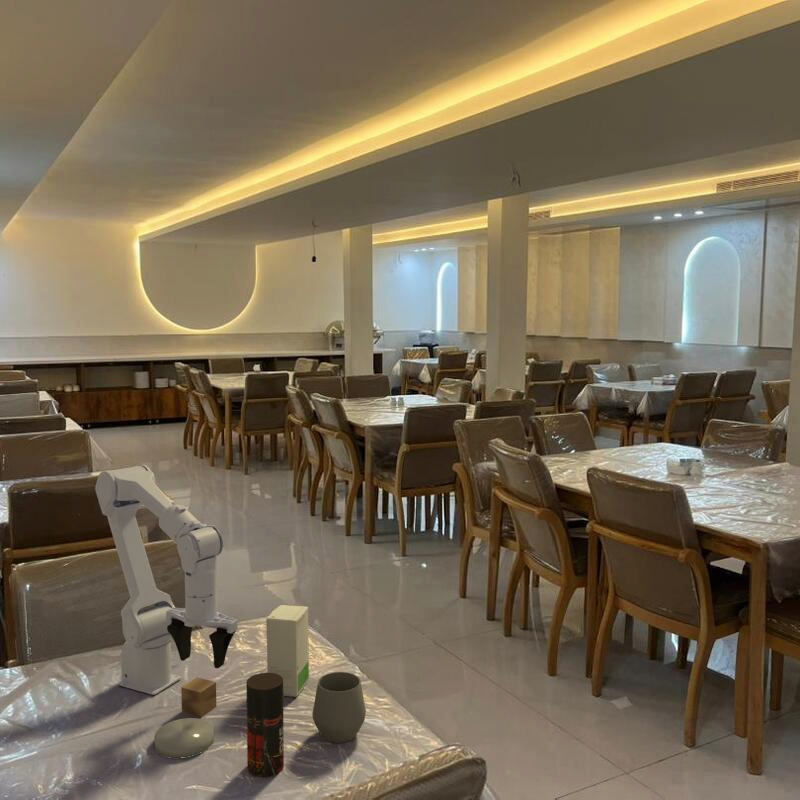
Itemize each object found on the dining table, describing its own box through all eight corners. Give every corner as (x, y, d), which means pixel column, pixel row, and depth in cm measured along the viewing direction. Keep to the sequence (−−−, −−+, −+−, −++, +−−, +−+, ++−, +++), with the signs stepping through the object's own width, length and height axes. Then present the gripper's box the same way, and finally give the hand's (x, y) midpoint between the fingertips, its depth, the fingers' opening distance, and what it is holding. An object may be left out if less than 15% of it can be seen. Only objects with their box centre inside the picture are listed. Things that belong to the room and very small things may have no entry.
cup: (324, 754, 134) (324, 699, 132) (304, 728, 142) (304, 675, 141) (374, 741, 138) (374, 687, 137) (352, 716, 146) (353, 665, 145)
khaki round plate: (142, 750, 135) (141, 740, 134) (181, 723, 144) (181, 713, 143) (188, 766, 130) (188, 754, 130) (225, 736, 140) (225, 726, 139)
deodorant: (249, 757, 133) (248, 673, 131) (284, 756, 133) (284, 672, 131) (245, 778, 127) (244, 690, 125) (282, 777, 127) (282, 689, 125)
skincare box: (296, 698, 153) (296, 621, 151) (264, 694, 154) (264, 618, 152) (310, 678, 161) (310, 605, 159) (279, 675, 162) (279, 602, 160)
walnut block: (181, 712, 147) (181, 687, 146) (197, 701, 151) (197, 677, 151) (201, 718, 145) (200, 692, 145) (216, 707, 149) (216, 682, 149)
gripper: (155, 593, 144) (156, 663, 146) (221, 606, 139) (222, 678, 141) (179, 581, 151) (180, 648, 153) (243, 592, 145) (244, 662, 147)
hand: (202, 662), depth 147 cm, fingers open, 7 cm apart
